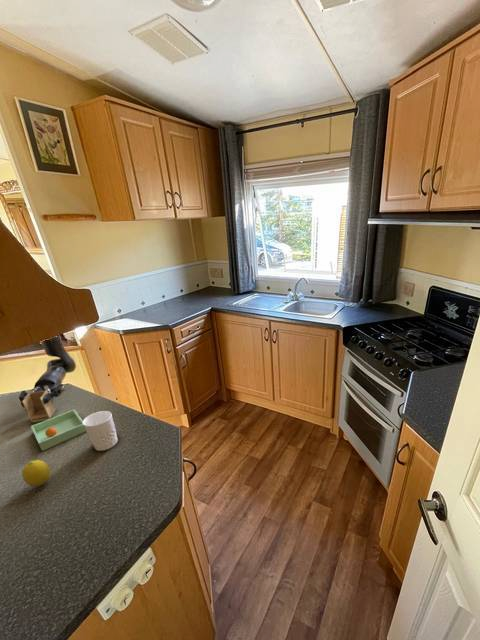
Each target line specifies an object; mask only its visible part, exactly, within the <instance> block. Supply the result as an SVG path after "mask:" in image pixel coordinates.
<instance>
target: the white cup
mask: <svg viewBox="0 0 480 640" xmlns="http://www.w3.org/2000/svg"><path fill="white" fill-rule="evenodd" d="M82 420H83V425H84V427H85V430H86V432H85V433H86V434H87V436H88V438H89V441H90V442H91V443H92V446H93V448H94V450H96V451H98V452H99V451H101V452H103V451H106V450H107V451H108V450H109V449H111V448H113V447H114V446H115V445H116V444H117V443H118V441H119V439H118V435H117V430H116V425H115V423H114V418H113V414H112V412H111V411H109V410H100V411H96V412H93V413H91V414H88V416H86V417H85V418H84V419H82Z"/></svg>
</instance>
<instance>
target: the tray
mask: <svg viewBox="0 0 480 640" xmlns="http://www.w3.org/2000/svg"><path fill="white" fill-rule="evenodd" d="M83 420H84V419H82V418H81V416H80V415H79V413H78V412H77V411H76V409H72V410H69V411H67V412H64V413H62V414H59V415H56V416H54V417H53V416H52V417H51V419H47V420H42V421H40V422H38V423H36V424H33V425H30V428H31V430H32V433H33V435H34V437H35V439H36V441H37V443H38V446H39V448H40V450H41V451H43V452H44V451H45V450H48V449H49V448H53V447H54V446H56V445H59V444H61V443H63V442H65V441H68V440H70V439H72V438H75V437H76V436H79V435H82V434H83V433H87V432H86V430H85V427H84V425H83ZM49 428H55V429H56V431H57V433H56V435H55V436H53V437H48V436H46V434H45V432H46V430H47V429H49Z"/></svg>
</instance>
